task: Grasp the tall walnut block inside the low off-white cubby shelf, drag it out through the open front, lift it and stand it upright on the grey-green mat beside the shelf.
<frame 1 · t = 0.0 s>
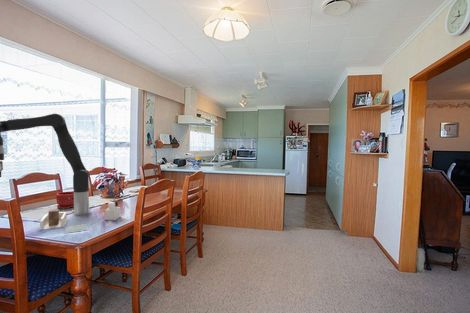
plant pot: (66, 207, 186), on the table
walnut block: (54, 224, 144), point 1 cm above the table, touching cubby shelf
grey-green mat: (76, 229, 139), on the table
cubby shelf: (54, 225, 145), on the table
medicine bottle: (113, 218, 161), on the table
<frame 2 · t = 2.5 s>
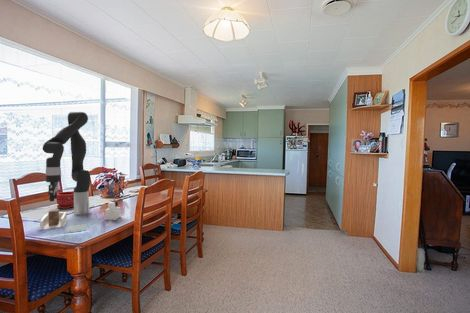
hand: (53, 199, 143), 17 cm above the table, fingers open, 8 cm apart
nothing on the table moved.
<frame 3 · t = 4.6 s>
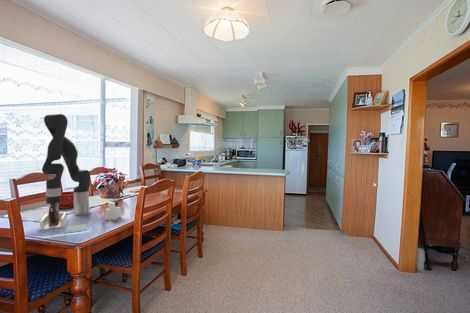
hand: (53, 221, 144), 3 cm above the table, fingers closed on walnut block, 4 cm apart
walnut block: (54, 224, 144), point 1 cm above the table, touching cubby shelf, gripper
everything else where it was.
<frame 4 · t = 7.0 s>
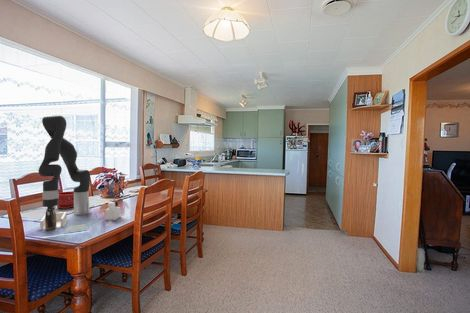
hand: (51, 225, 137), 3 cm above the table, fingers closed on walnut block, 4 cm apart
walnut block: (51, 228, 137), point 1 cm above the table, touching gripper
everything else where it was.
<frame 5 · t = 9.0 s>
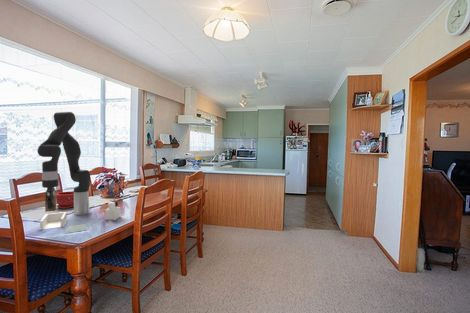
hand: (51, 207, 135), 14 cm above the table, fingers closed on walnut block, 4 cm apart
walnut block: (51, 210, 135), point 13 cm above the table, touching gripper
everything else where it was.
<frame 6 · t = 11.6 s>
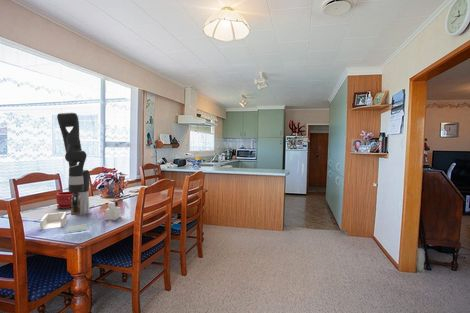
hand: (76, 211, 139), 11 cm above the table, fingers closed on walnut block, 4 cm apart
walnut block: (76, 214, 139), point 10 cm above the table, touching gripper
everything else where it was.
when the fingers open (4 cm above the table, at t = 13.6 s): walnut block drops 1 cm, resting on grey-green mat.
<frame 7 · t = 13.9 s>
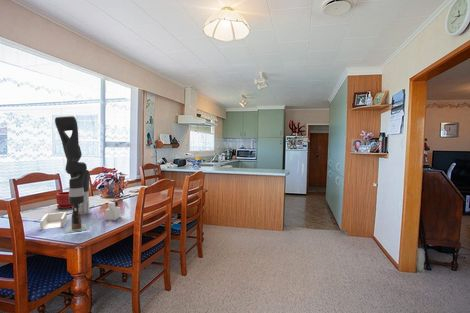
hand: (76, 221, 139), 5 cm above the table, fingers open, 6 cm apart
walnut block: (76, 227, 139), point 1 cm above the table, touching grey-green mat
everything else where it was.
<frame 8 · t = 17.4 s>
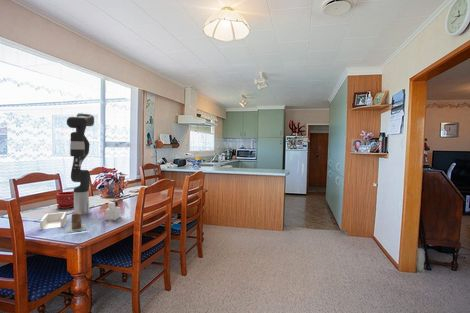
hand: (77, 174, 145), 33 cm above the table, fingers open, 8 cm apart
nothing on the table moved.
at the end: walnut block inside the target area on the grey-green mat (0.1 cm from its centre), point 1.0 cm above the grey-green mat's base; walnut block tilted 0°; the gripper is holding nothing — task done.
